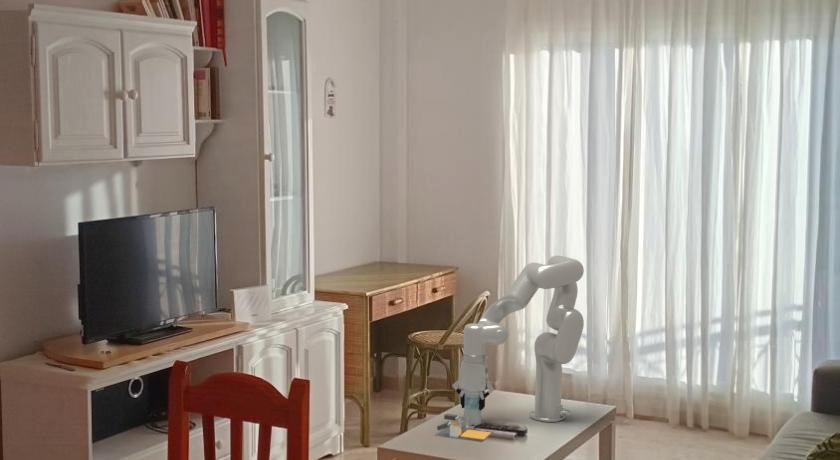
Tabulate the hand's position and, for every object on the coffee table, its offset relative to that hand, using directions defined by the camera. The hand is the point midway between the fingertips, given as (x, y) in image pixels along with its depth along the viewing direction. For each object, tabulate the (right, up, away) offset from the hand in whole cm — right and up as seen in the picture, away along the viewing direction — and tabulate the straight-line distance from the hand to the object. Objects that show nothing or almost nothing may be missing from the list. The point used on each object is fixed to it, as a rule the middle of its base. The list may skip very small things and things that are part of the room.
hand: (472, 407), depth 366 cm
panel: (-3, -8, -12) cm, 15 cm away
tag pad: (0, -7, -13) cm, 15 cm away
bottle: (0, -7, +1) cm, 7 cm away
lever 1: (-10, -4, -14) cm, 18 cm away
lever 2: (-8, -3, -6) cm, 10 cm away
